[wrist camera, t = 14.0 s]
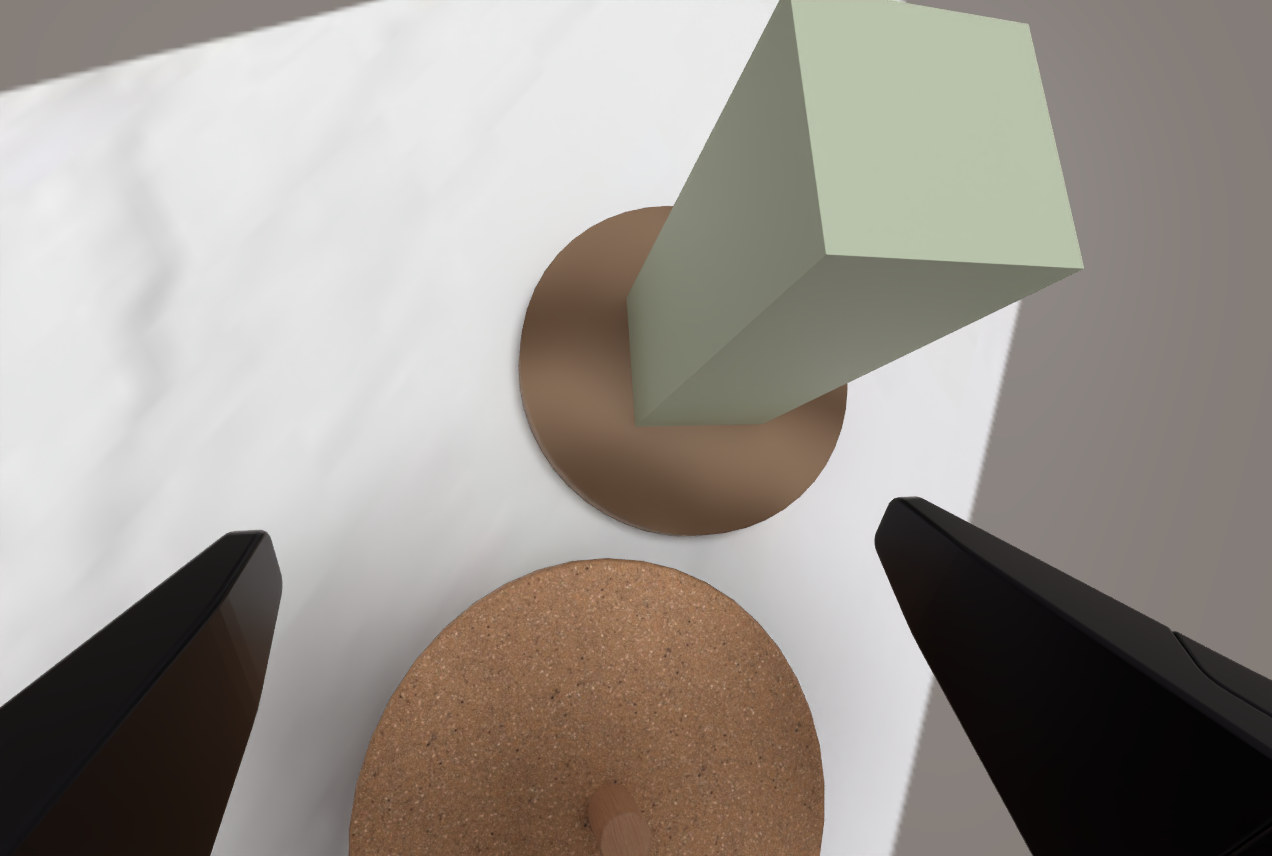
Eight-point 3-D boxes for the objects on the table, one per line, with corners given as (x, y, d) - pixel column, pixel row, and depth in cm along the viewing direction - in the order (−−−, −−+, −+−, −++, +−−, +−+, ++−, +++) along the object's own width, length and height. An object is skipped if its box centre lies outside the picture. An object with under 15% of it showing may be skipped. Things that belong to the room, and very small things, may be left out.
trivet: (823, 553, 24) (844, 553, 22) (494, 514, 21) (493, 511, 20) (831, 260, 27) (850, 244, 25) (543, 195, 24) (546, 173, 23)
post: (762, 424, 23) (1084, 268, 10) (635, 426, 22) (825, 254, 9) (748, 301, 24) (1028, 24, 11) (626, 297, 22) (788, -17, 10)
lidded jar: (661, 518, 23) (772, 496, 14) (753, 807, 21) (942, 991, 12) (366, 616, 20) (260, 669, 11) (451, 958, 18) (411, 1346, 9)
